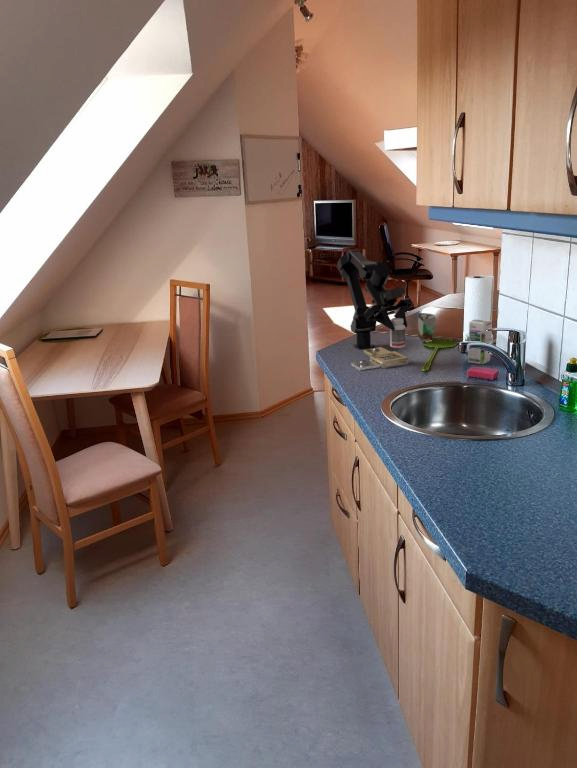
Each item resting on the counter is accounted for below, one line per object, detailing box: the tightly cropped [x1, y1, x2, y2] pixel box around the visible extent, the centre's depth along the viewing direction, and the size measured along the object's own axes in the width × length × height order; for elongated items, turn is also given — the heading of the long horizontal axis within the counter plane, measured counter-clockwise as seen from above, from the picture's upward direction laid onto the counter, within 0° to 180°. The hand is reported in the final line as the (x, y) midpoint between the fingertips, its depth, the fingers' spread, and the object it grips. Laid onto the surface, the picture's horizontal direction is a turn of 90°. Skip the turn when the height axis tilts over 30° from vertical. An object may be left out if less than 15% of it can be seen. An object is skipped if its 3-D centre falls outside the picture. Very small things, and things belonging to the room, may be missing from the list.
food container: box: [417, 312, 437, 345], centre depth 241 cm, size 12×6×10 cm, turn 179°
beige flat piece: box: [350, 346, 409, 371], centre depth 219 cm, size 18×18×3 cm
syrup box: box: [467, 318, 493, 365], centre depth 209 cm, size 6×6×14 cm
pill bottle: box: [389, 317, 406, 349], centre depth 214 cm, size 5×5×10 cm
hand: (400, 328), depth 212 cm, fingers closed on pill bottle, 5 cm apart
